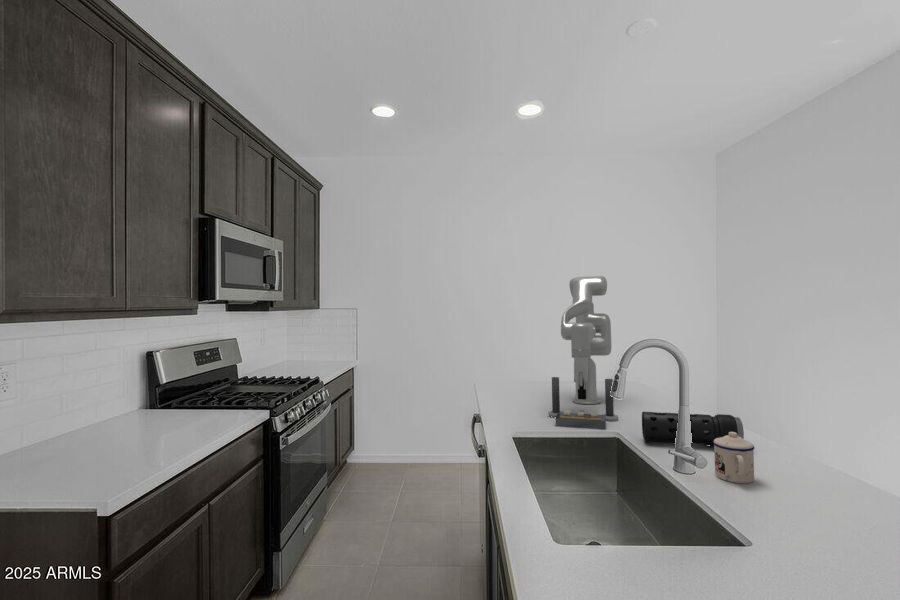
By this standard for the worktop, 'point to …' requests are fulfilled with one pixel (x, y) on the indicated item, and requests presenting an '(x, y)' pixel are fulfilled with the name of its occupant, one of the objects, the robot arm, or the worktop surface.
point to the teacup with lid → (734, 458)
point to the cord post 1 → (555, 397)
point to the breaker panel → (581, 420)
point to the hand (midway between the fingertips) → (582, 398)
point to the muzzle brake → (702, 427)
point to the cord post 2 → (609, 402)
